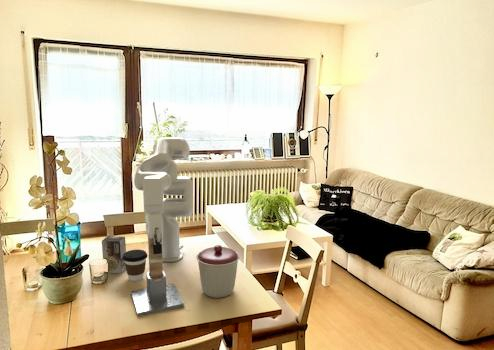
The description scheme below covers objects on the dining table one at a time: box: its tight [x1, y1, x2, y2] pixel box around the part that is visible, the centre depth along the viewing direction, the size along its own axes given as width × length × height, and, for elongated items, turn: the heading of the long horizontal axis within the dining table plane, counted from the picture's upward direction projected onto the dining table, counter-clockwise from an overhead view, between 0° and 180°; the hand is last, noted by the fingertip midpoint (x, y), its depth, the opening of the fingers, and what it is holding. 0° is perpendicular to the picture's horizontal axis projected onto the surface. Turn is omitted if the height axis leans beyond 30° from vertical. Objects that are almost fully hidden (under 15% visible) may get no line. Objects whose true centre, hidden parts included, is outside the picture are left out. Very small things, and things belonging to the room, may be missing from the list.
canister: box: [195, 244, 240, 299], centre depth 162 cm, size 18×18×21 cm
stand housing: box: [130, 270, 185, 318], centre depth 155 cm, size 18×18×12 cm
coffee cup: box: [122, 249, 148, 282], centre depth 174 cm, size 11×11×12 cm
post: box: [147, 236, 164, 278], centre depth 153 cm, size 5×5×20 cm
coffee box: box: [101, 235, 127, 274], centre depth 182 cm, size 9×6×16 cm
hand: (155, 249), depth 152 cm, fingers open, 9 cm apart
